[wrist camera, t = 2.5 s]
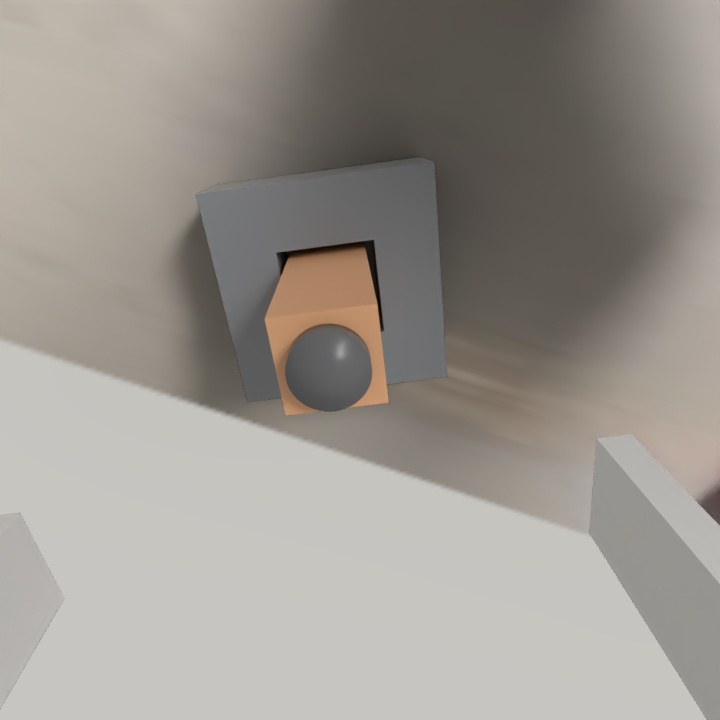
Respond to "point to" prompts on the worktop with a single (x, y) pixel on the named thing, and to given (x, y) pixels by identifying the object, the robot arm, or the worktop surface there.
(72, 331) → the worktop surface
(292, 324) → the plug
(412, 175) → the grey square socket block
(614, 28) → the worktop surface
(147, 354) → the worktop surface
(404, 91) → the worktop surface
